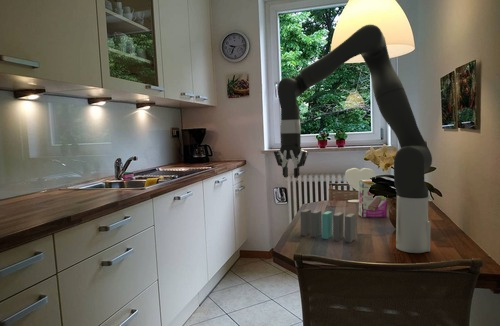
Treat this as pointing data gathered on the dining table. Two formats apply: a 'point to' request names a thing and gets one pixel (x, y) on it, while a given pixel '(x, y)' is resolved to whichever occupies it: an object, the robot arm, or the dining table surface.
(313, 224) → the domino
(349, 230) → the domino
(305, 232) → the domino
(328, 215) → the domino
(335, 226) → the domino
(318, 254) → the dining table surface
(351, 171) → the heart sculpture
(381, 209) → the candy bar box
